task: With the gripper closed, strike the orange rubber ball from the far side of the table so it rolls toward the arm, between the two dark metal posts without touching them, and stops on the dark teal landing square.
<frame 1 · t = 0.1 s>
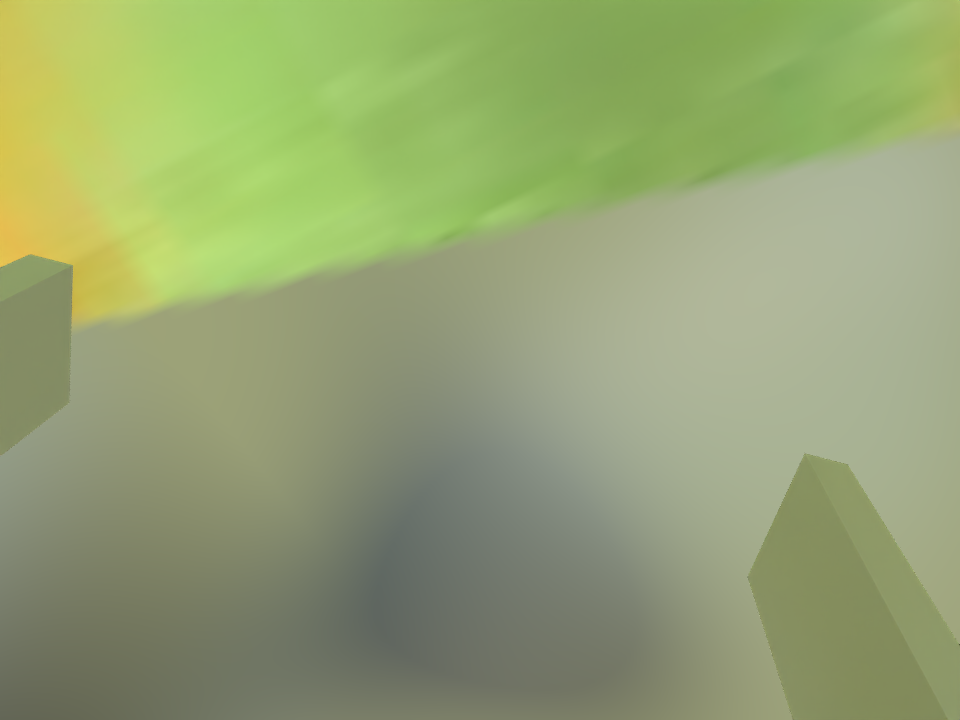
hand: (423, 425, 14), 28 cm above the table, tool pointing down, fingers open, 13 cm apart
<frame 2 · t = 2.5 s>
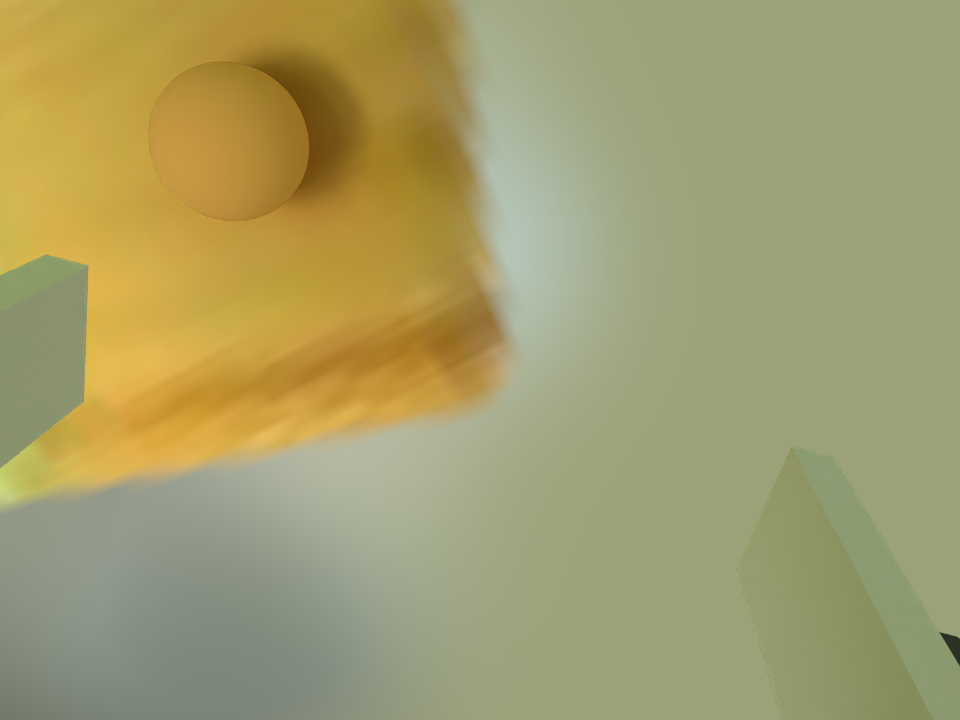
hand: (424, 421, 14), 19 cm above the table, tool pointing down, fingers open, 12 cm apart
ball: (231, 143, 29), on the table
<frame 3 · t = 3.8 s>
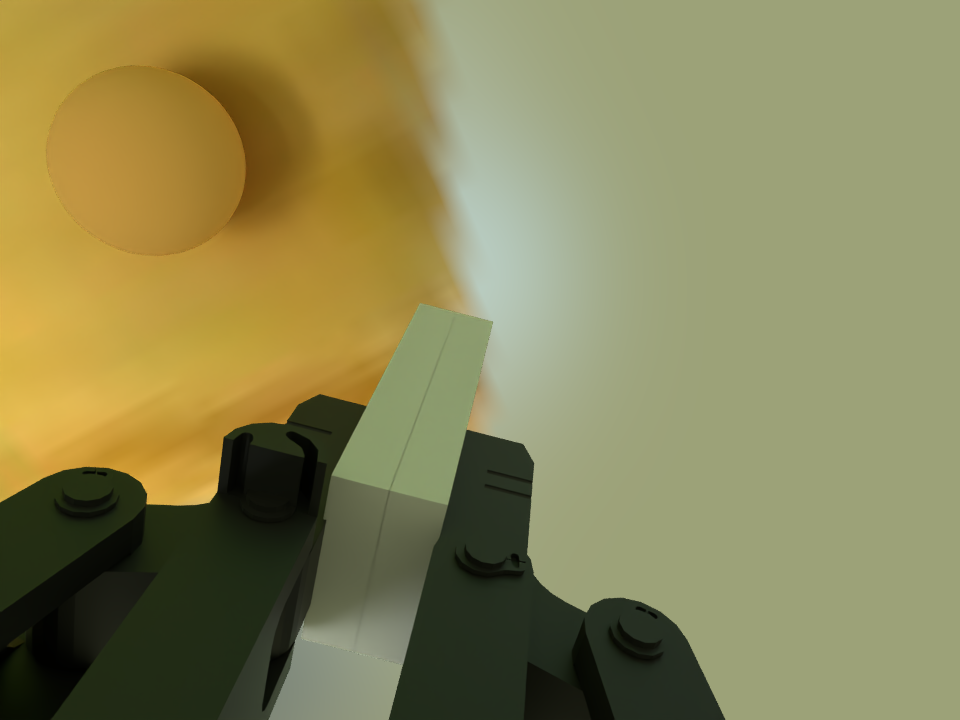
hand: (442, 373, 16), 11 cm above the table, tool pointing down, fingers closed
ball: (150, 163, 24), on the table
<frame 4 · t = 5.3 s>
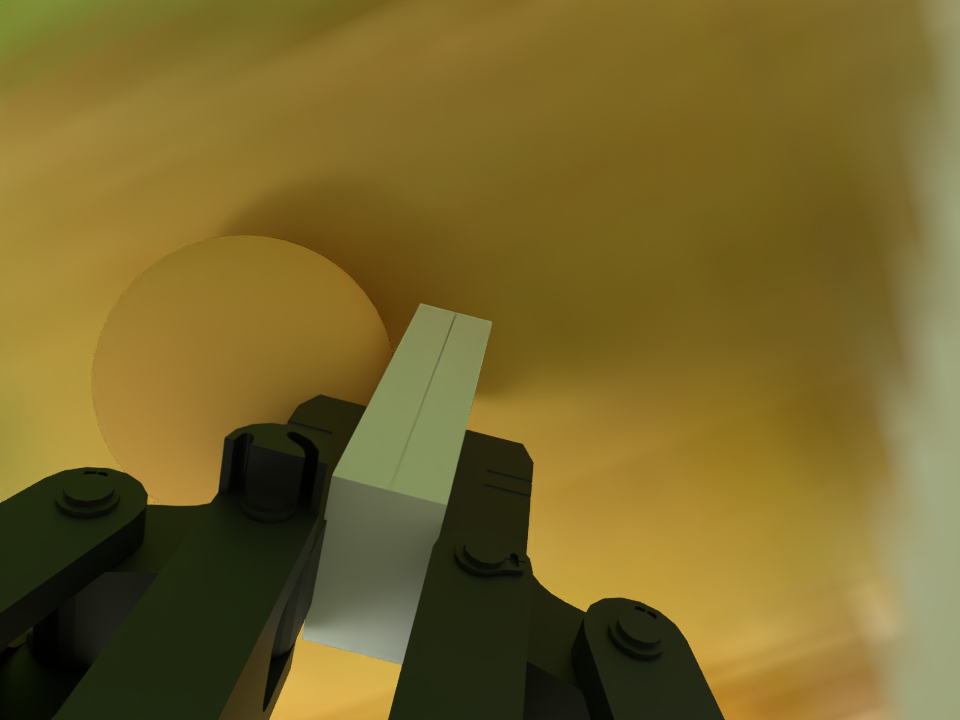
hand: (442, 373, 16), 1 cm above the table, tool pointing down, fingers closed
ball: (250, 379, 15), on the table
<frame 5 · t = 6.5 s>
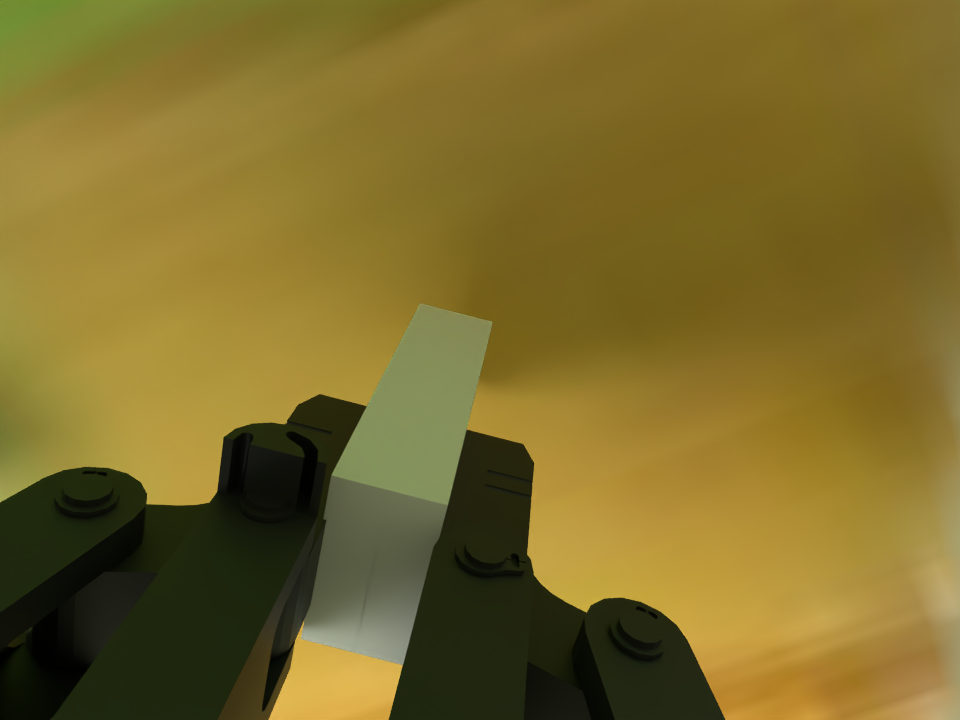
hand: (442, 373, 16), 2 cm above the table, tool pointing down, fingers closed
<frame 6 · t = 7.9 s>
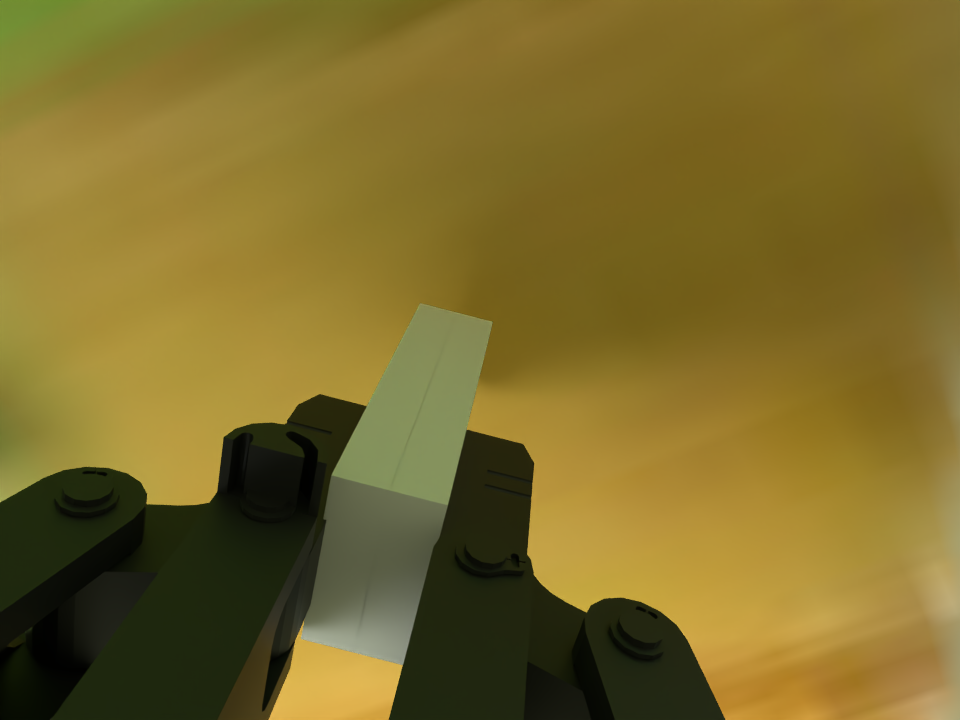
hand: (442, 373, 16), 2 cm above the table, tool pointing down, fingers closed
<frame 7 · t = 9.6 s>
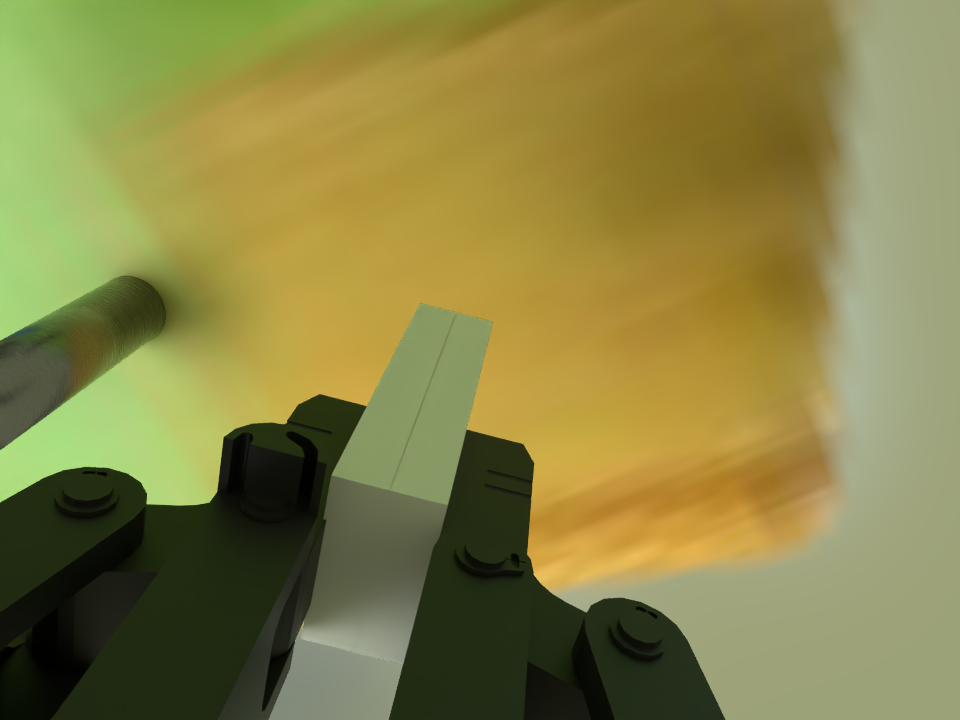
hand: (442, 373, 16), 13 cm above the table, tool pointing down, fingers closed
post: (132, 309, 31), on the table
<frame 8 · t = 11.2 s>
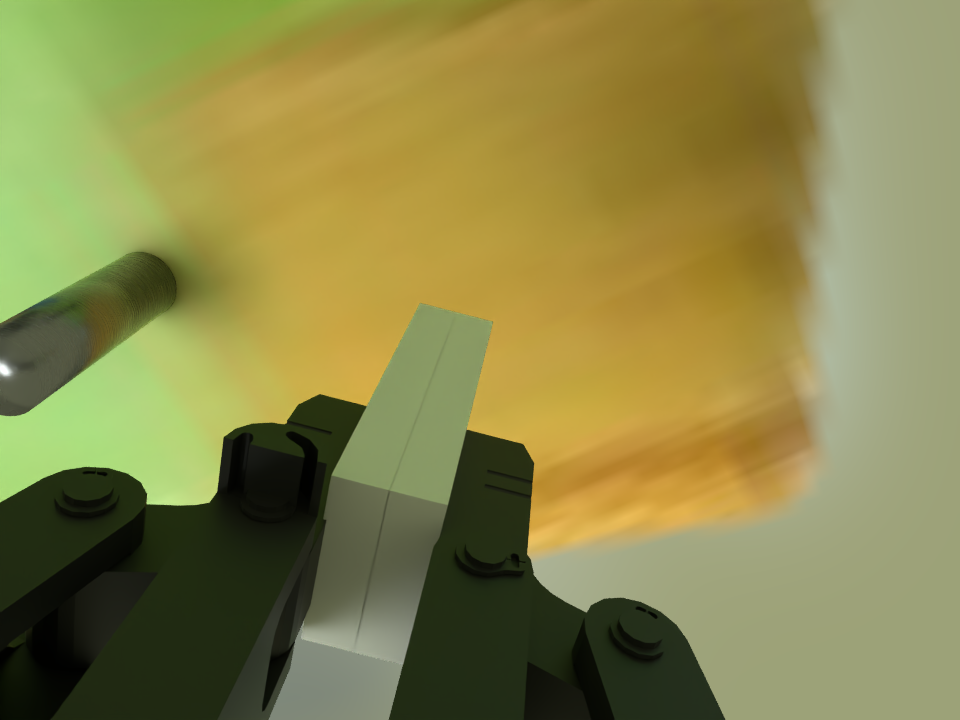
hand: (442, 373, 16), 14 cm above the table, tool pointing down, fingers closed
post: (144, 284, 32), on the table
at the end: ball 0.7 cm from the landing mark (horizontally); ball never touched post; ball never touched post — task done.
